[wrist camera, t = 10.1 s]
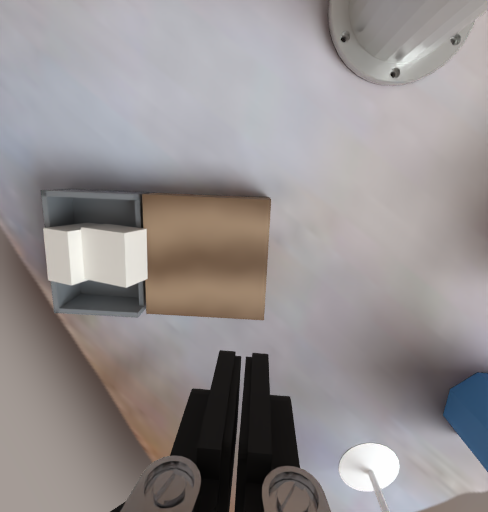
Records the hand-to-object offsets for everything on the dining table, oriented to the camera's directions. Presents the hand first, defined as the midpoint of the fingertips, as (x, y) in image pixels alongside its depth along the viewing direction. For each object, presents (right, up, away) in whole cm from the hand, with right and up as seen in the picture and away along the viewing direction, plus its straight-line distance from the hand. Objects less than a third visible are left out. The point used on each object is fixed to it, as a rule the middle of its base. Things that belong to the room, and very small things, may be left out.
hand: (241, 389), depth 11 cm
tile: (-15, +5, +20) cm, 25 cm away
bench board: (-4, +5, +23) cm, 24 cm away
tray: (-14, +6, +23) cm, 28 cm away
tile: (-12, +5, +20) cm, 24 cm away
